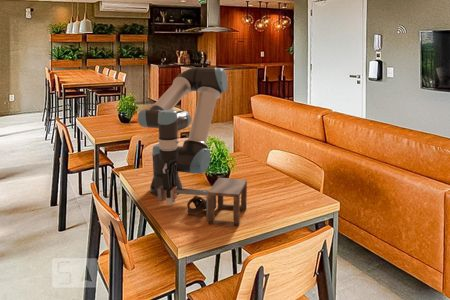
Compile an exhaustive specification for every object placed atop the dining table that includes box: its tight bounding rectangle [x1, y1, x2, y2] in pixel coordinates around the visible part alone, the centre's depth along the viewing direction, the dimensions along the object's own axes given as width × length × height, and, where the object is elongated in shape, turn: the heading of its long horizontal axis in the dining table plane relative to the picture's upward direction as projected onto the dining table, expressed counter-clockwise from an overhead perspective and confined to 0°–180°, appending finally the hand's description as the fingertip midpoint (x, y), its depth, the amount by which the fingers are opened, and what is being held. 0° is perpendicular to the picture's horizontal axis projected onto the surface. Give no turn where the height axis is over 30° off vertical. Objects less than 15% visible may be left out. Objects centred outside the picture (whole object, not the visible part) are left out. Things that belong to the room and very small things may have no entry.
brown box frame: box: [157, 184, 217, 219], centre depth 173 cm, size 22×12×10 cm, turn 78°
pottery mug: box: [186, 195, 206, 216], centre depth 174 cm, size 12×10×8 cm
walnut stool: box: [207, 177, 248, 228], centre depth 169 cm, size 12×18×13 cm, turn 168°
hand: (170, 203), depth 175 cm, fingers closed on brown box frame, 2 cm apart
